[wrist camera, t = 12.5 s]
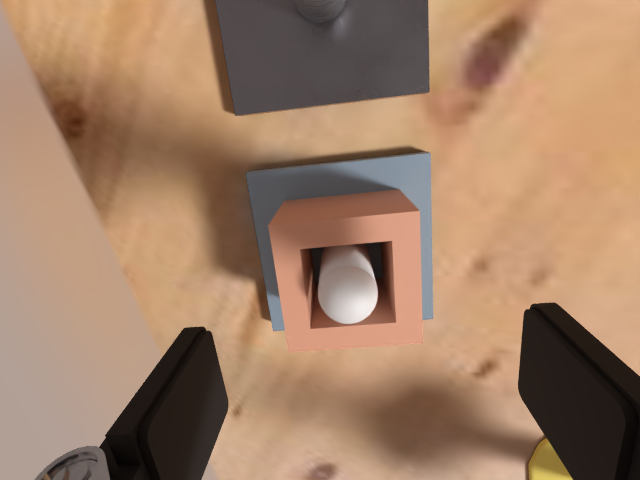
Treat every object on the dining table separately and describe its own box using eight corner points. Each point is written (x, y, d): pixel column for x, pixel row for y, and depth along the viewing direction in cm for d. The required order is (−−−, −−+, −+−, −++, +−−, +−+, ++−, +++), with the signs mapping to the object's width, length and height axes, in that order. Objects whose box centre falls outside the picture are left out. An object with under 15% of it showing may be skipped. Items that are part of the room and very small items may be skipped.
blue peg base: (249, 170, 21) (201, 198, 13) (425, 151, 20) (479, 169, 12) (275, 322, 24) (248, 414, 16) (429, 310, 23) (473, 400, 16)
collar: (284, 200, 20) (268, 225, 15) (399, 189, 20) (419, 210, 15) (298, 302, 22) (288, 352, 17) (403, 294, 22) (423, 343, 17)
